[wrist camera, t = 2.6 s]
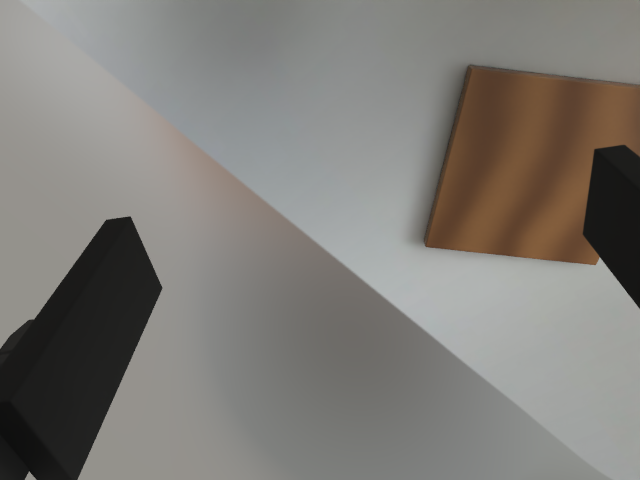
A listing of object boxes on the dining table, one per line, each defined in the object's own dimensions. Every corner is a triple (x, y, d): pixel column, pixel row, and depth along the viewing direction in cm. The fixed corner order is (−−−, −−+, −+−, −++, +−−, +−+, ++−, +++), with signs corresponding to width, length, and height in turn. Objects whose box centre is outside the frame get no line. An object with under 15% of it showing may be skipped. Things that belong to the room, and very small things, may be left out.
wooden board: (423, 240, 41) (425, 247, 40) (468, 64, 33) (471, 68, 33) (590, 258, 41) (596, 265, 40) (671, 88, 34) (680, 93, 33)
